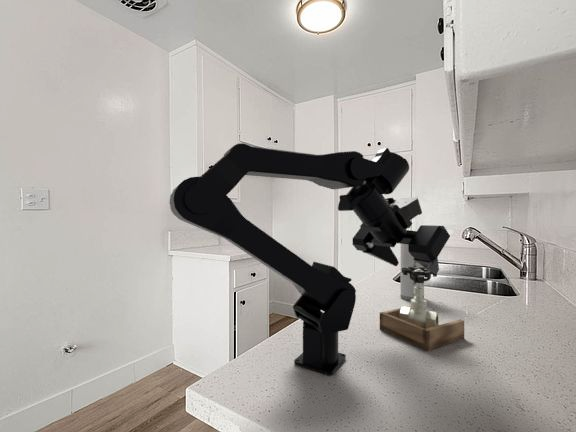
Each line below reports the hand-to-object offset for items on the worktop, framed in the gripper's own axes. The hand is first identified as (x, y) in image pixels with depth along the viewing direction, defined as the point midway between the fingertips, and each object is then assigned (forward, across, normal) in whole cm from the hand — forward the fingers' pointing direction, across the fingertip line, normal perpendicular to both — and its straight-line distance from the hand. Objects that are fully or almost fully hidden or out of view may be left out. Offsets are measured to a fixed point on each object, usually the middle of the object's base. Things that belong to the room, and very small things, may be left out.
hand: (415, 267), depth 57 cm
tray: (+10, 0, +8) cm, 14 cm away
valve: (+10, 0, +8) cm, 13 cm away
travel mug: (+25, +18, -5) cm, 31 cm away
